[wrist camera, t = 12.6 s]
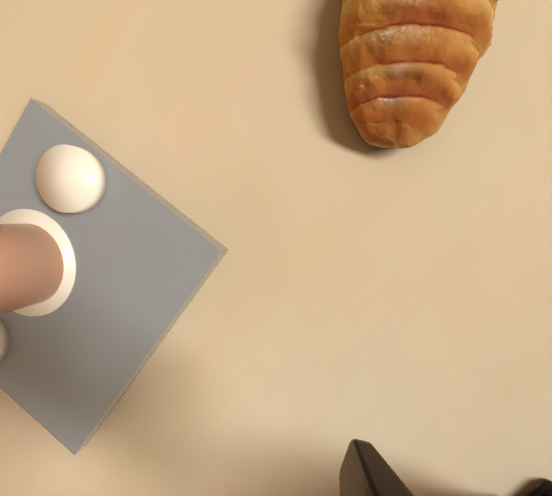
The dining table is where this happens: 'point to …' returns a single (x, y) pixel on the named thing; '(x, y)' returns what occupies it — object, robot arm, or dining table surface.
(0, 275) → the canister
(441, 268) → the dining table surface
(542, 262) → the dining table surface
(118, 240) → the board
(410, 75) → the pastry
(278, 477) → the dining table surface
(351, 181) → the dining table surface
